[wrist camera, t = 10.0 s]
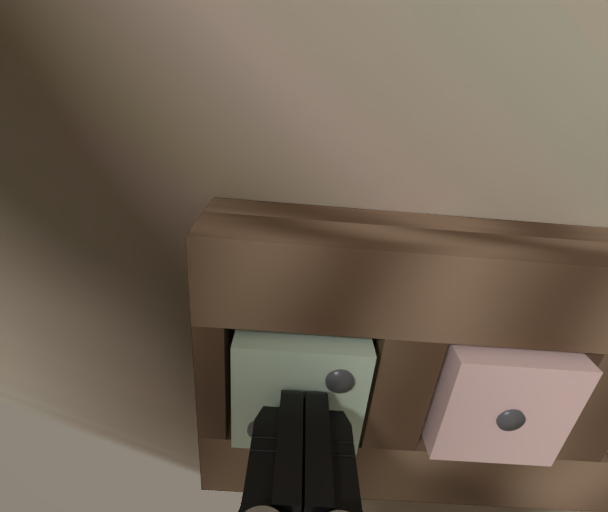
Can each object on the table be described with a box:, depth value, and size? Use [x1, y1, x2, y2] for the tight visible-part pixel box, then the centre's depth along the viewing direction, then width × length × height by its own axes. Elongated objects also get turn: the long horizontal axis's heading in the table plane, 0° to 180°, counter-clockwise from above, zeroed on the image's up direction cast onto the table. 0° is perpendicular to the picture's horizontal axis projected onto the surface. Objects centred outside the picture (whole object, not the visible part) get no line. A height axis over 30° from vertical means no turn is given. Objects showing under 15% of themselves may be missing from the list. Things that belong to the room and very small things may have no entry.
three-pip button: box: [231, 329, 377, 455], centre depth 13 cm, size 4×4×2 cm
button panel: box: [185, 198, 608, 512], centre depth 15 cm, size 21×11×4 cm, turn 86°
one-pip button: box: [421, 344, 603, 467], centre depth 14 cm, size 4×4×2 cm
